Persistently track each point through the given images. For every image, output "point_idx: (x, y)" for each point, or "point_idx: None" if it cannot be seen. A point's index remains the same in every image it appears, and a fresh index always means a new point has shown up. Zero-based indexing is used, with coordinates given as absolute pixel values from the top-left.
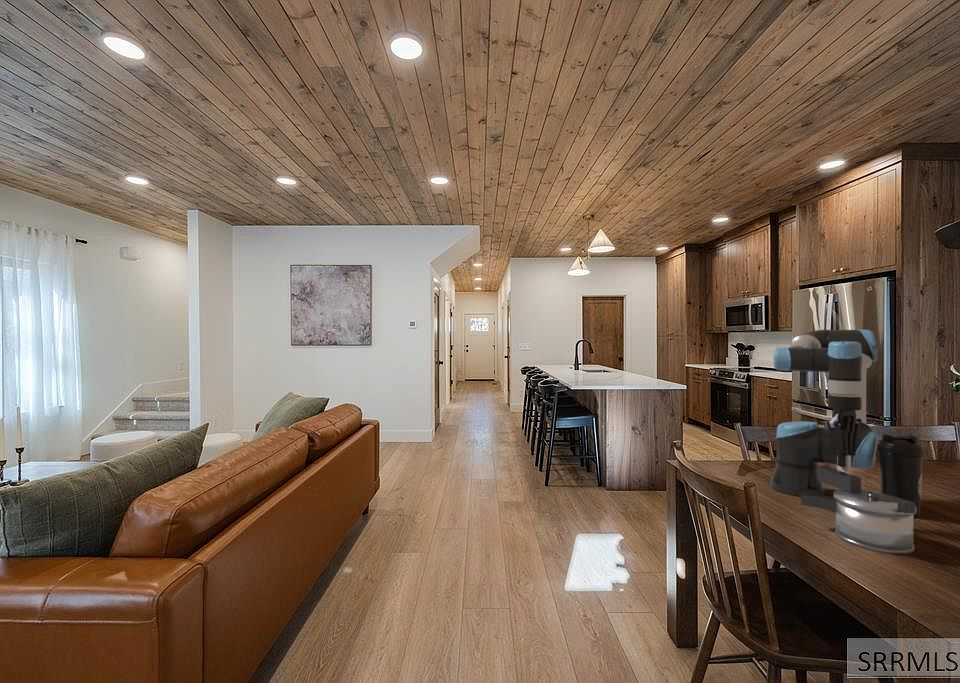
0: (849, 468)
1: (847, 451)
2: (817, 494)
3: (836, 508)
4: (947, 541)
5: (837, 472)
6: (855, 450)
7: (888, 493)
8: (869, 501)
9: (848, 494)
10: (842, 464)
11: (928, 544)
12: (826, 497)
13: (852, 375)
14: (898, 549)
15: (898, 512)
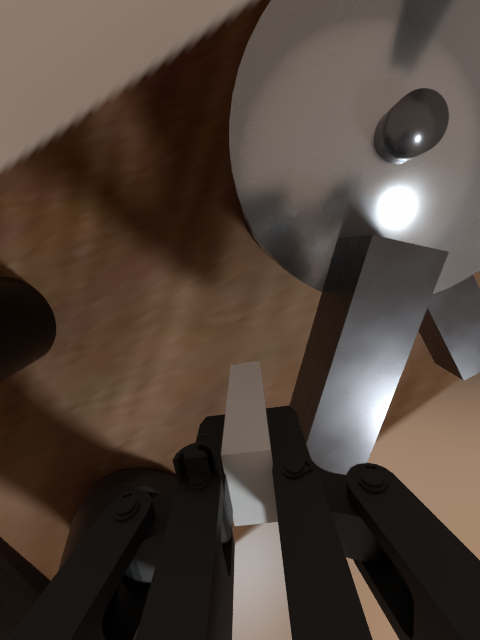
0: (246, 391)
1: (275, 492)
2: (444, 337)
3: None
4: (109, 109)
5: (382, 367)
6: (129, 503)
7: (7, 347)
8: (458, 113)
9: (431, 234)
10: (296, 419)
11: (196, 109)
12: (453, 297)
13: None
14: None
15: None
